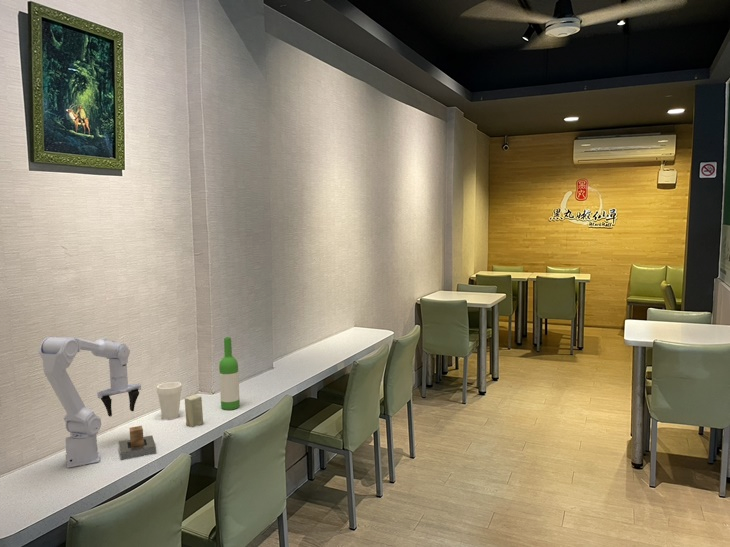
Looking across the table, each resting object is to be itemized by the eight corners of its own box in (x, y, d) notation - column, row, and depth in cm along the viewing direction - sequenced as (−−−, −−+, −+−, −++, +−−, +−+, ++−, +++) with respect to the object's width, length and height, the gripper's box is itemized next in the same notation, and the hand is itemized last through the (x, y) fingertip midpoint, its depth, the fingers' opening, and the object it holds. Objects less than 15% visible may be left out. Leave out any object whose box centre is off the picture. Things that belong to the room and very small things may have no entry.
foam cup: (173, 411, 234) (172, 380, 233) (187, 415, 229) (186, 384, 227) (153, 417, 226) (151, 386, 225) (167, 422, 221) (166, 390, 220)
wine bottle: (222, 411, 232) (219, 340, 229) (219, 406, 239) (216, 336, 236) (241, 409, 235) (238, 338, 232) (238, 403, 242) (235, 335, 239)
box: (197, 421, 221) (195, 394, 220) (203, 423, 219) (202, 396, 218) (185, 425, 217) (184, 397, 216) (191, 427, 215) (190, 399, 214)
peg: (131, 454, 191) (130, 431, 191) (130, 449, 195) (129, 427, 194) (144, 451, 193) (142, 429, 192) (143, 447, 197) (141, 425, 196)
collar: (121, 460, 187) (120, 452, 186) (119, 448, 197) (118, 441, 196) (156, 453, 192) (155, 446, 191) (152, 442, 201) (152, 435, 201)
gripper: (100, 382, 193) (103, 421, 194) (143, 374, 202) (145, 410, 204) (94, 378, 198) (97, 415, 199) (136, 370, 208) (138, 406, 209)
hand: (121, 413), depth 202 cm, fingers open, 7 cm apart
